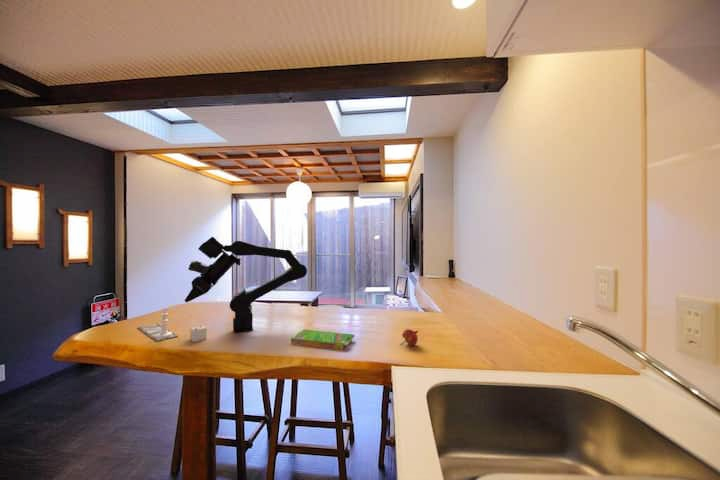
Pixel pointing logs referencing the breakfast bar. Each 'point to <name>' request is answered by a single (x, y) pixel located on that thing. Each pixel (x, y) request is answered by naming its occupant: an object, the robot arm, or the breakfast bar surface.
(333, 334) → the game box
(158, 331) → the track board
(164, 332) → the chess piece
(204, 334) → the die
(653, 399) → the breakfast bar surface
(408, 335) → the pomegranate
